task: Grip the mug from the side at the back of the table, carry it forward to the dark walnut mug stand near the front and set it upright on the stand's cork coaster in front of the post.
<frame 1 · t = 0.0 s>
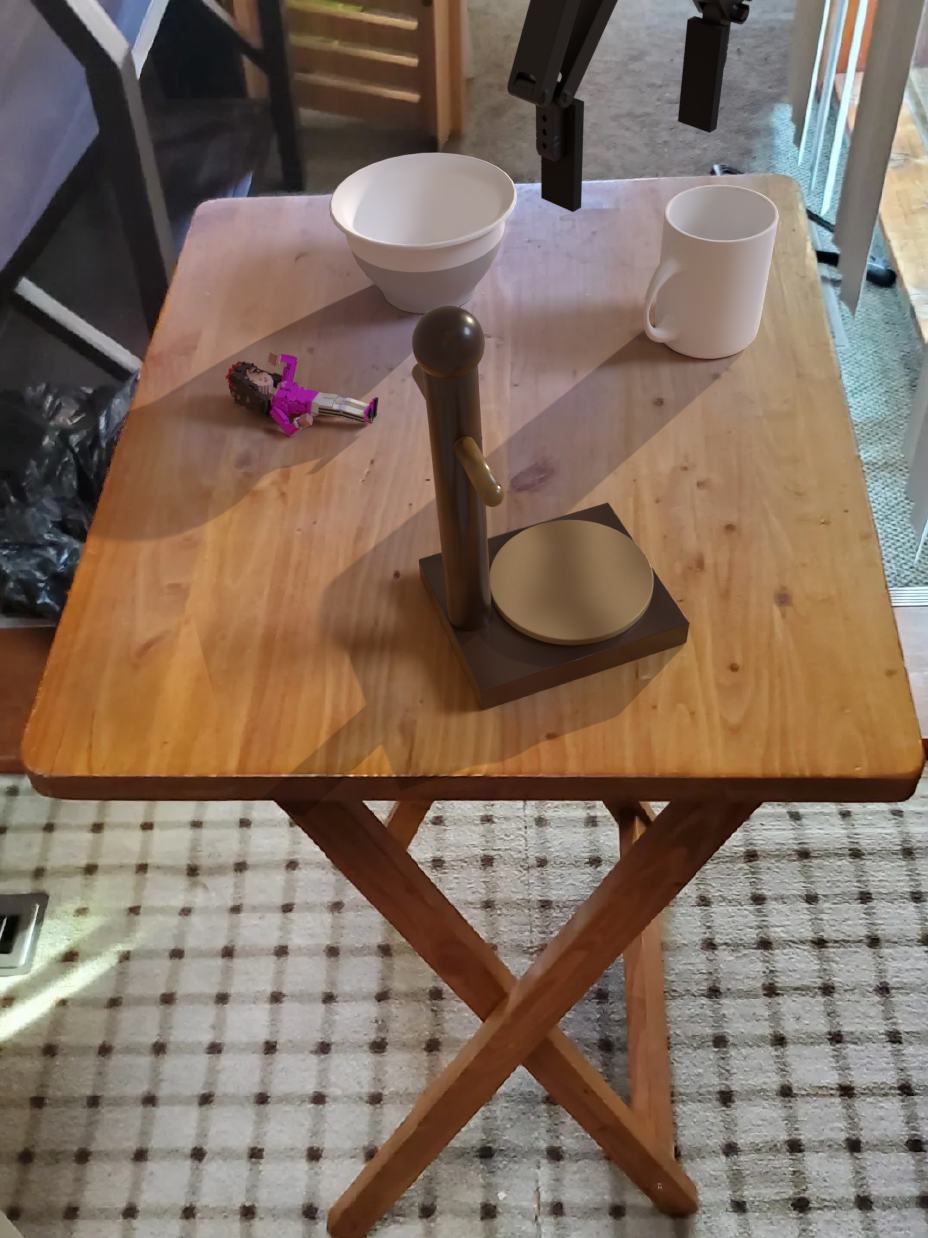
hand: (631, 163, 70), 19 cm above the table, tool pointing down, fingers open, 13 cm apart
mug: (690, 341, 90), on the table
mug stand: (549, 609, 71), on the table
character figurine: (304, 418, 86), on the table
bowl: (430, 288, 98), on the table
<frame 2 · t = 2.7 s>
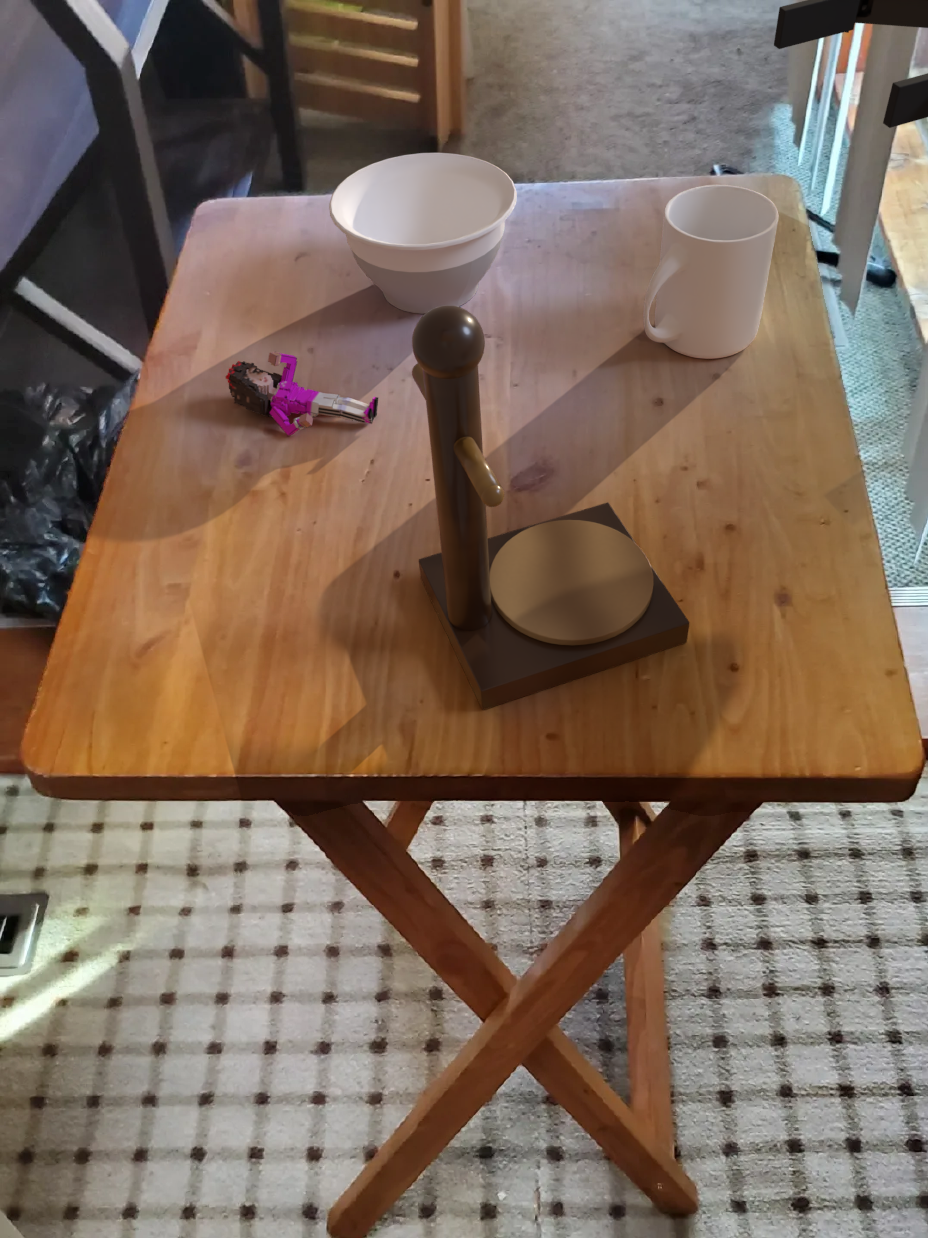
hand: (831, 65, 76), 21 cm above the table, tool horizontal, fingers open, 13 cm apart
nothing on the table moved.
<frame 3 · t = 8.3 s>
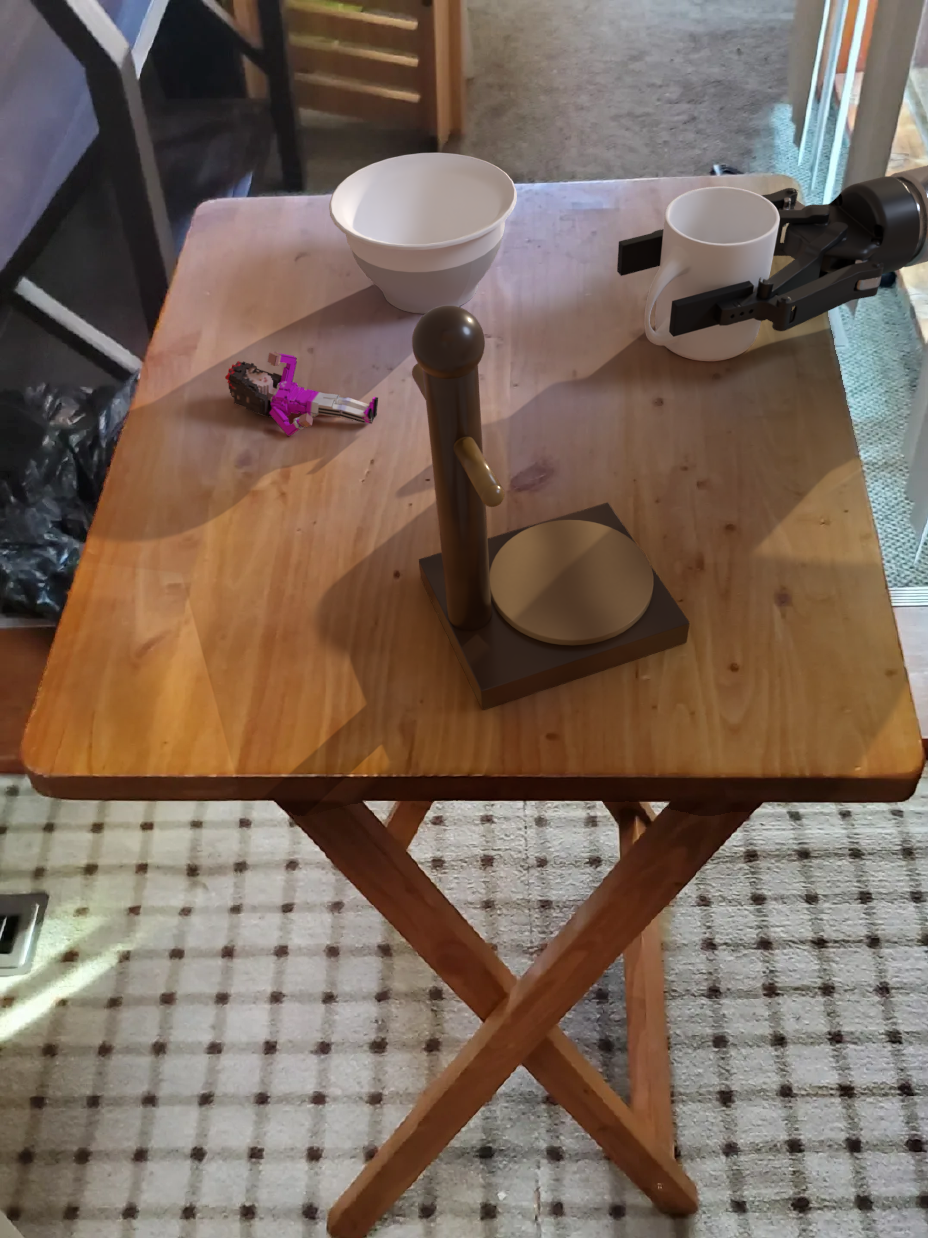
hand: (645, 288, 85), 6 cm above the table, tool horizontal, fingers closed on mug, 9 cm apart
mug: (691, 343, 90), on the table, touching gripper
everything else where it was.
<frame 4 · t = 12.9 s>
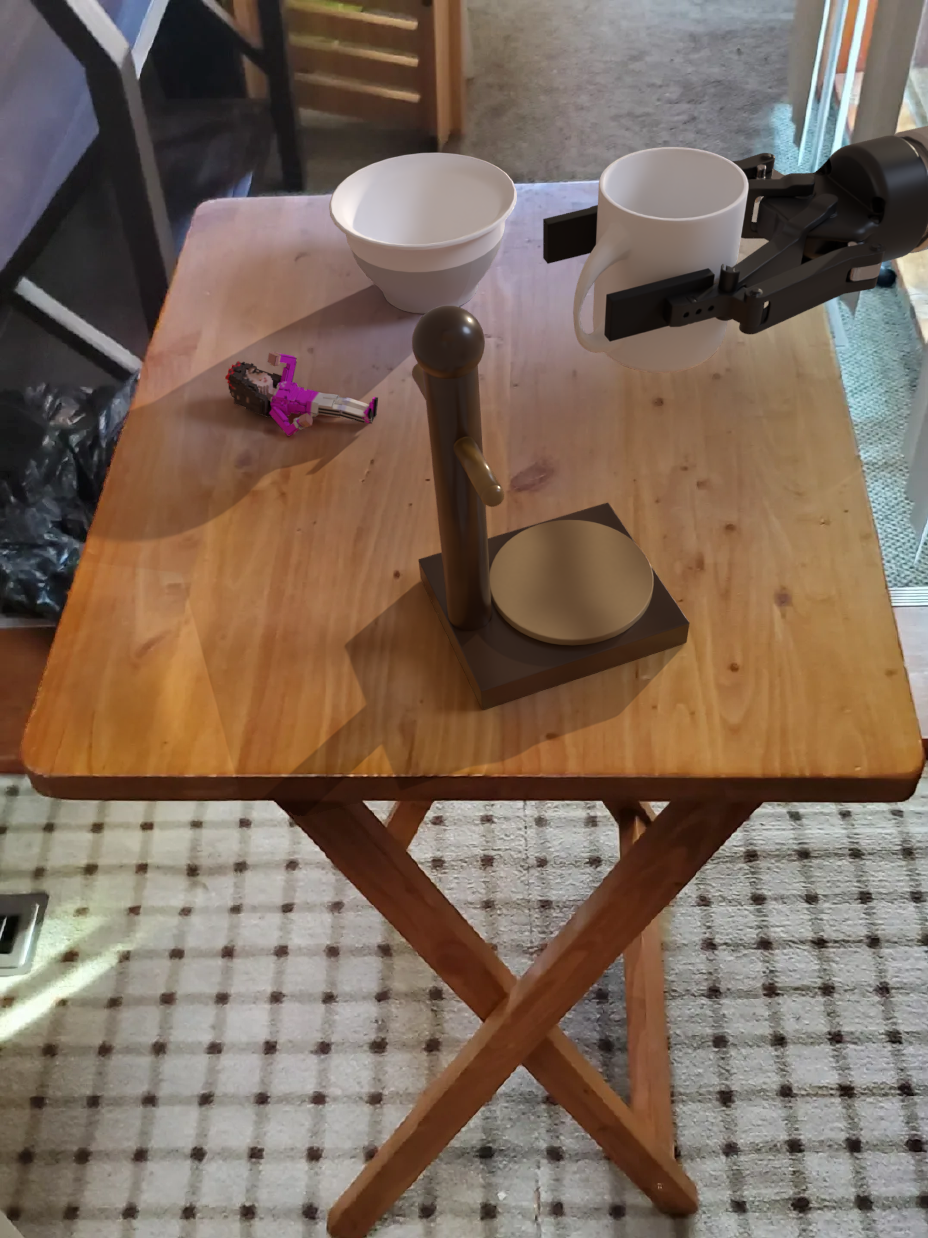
hand: (575, 278, 65), 18 cm above the table, tool horizontal, fingers closed on mug, 9 cm apart
mug: (639, 350, 70), point 11 cm above the table, touching gripper
everything else where it was.
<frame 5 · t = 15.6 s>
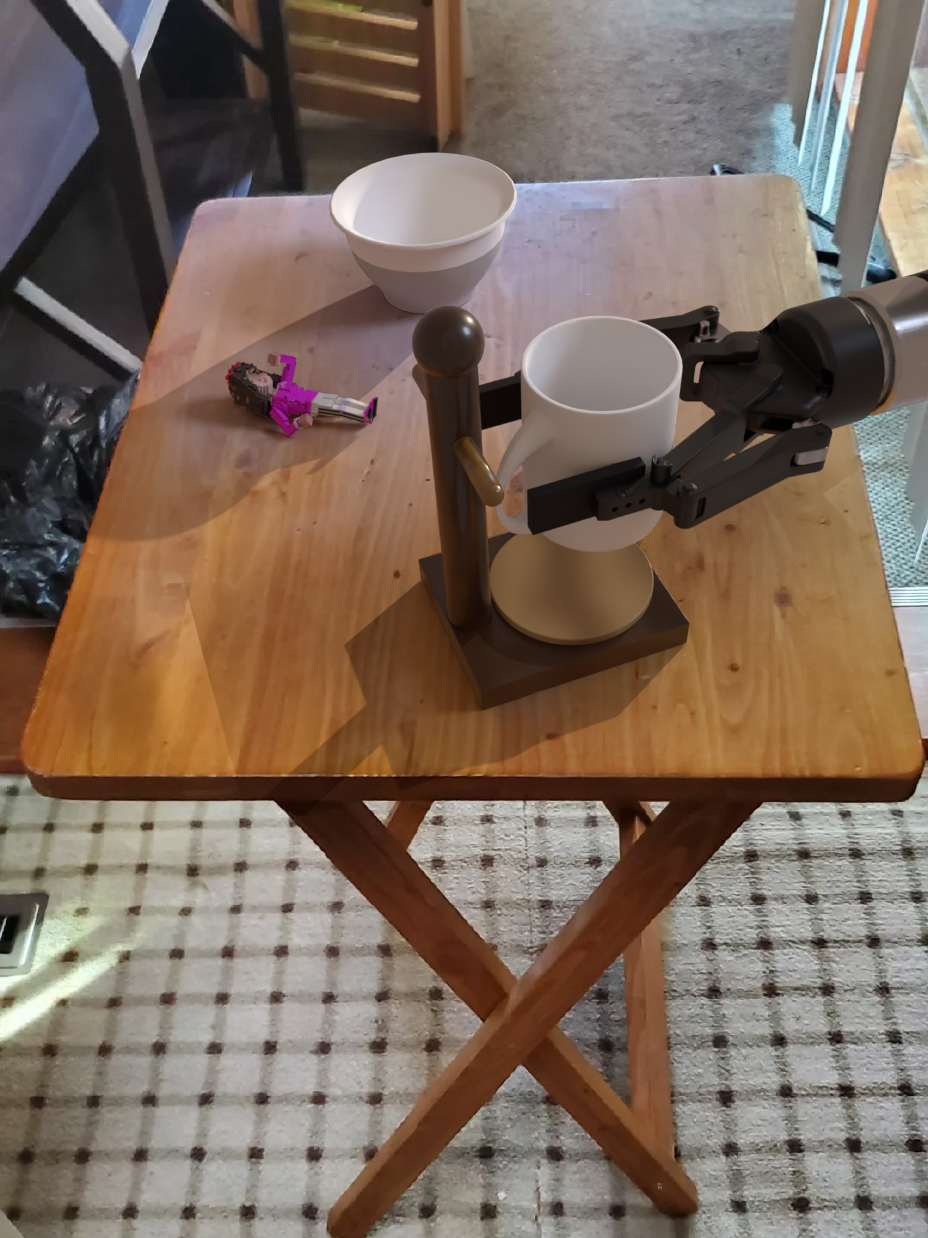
hand: (498, 459, 60), 14 cm above the table, tool horizontal, fingers closed on mug, 9 cm apart
mug: (572, 522, 65), point 8 cm above the table, touching gripper
everything else where it was.
when the fingers open (9 cm above the table, at t = 17.6 s): mug stays where it is, resting on mug stand.
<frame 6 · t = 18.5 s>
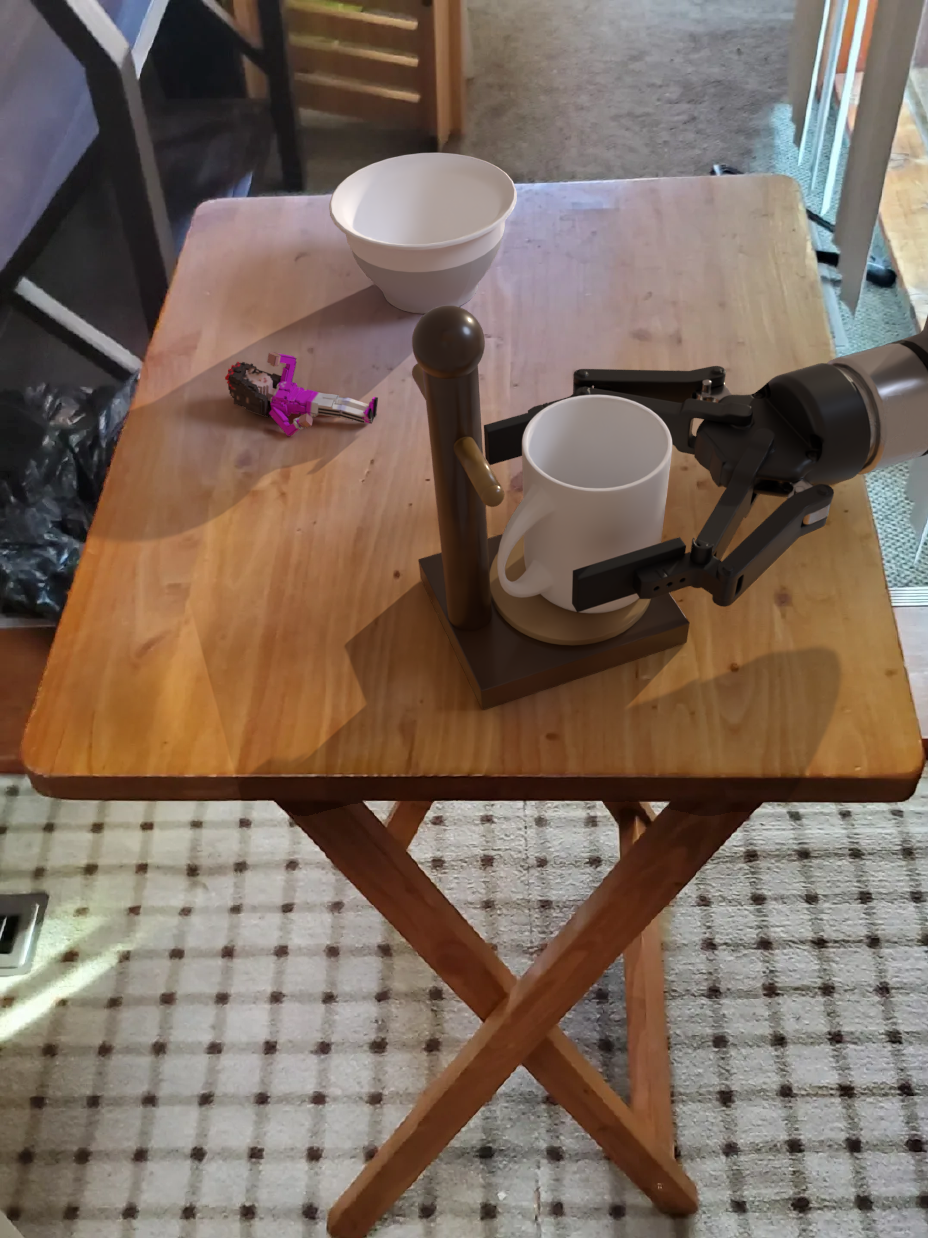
hand: (527, 514, 64), 9 cm above the table, tool horizontal, fingers open, 13 cm apart
mug: (571, 583, 69), point 2 cm above the table, touching mug stand
everything else where it was.
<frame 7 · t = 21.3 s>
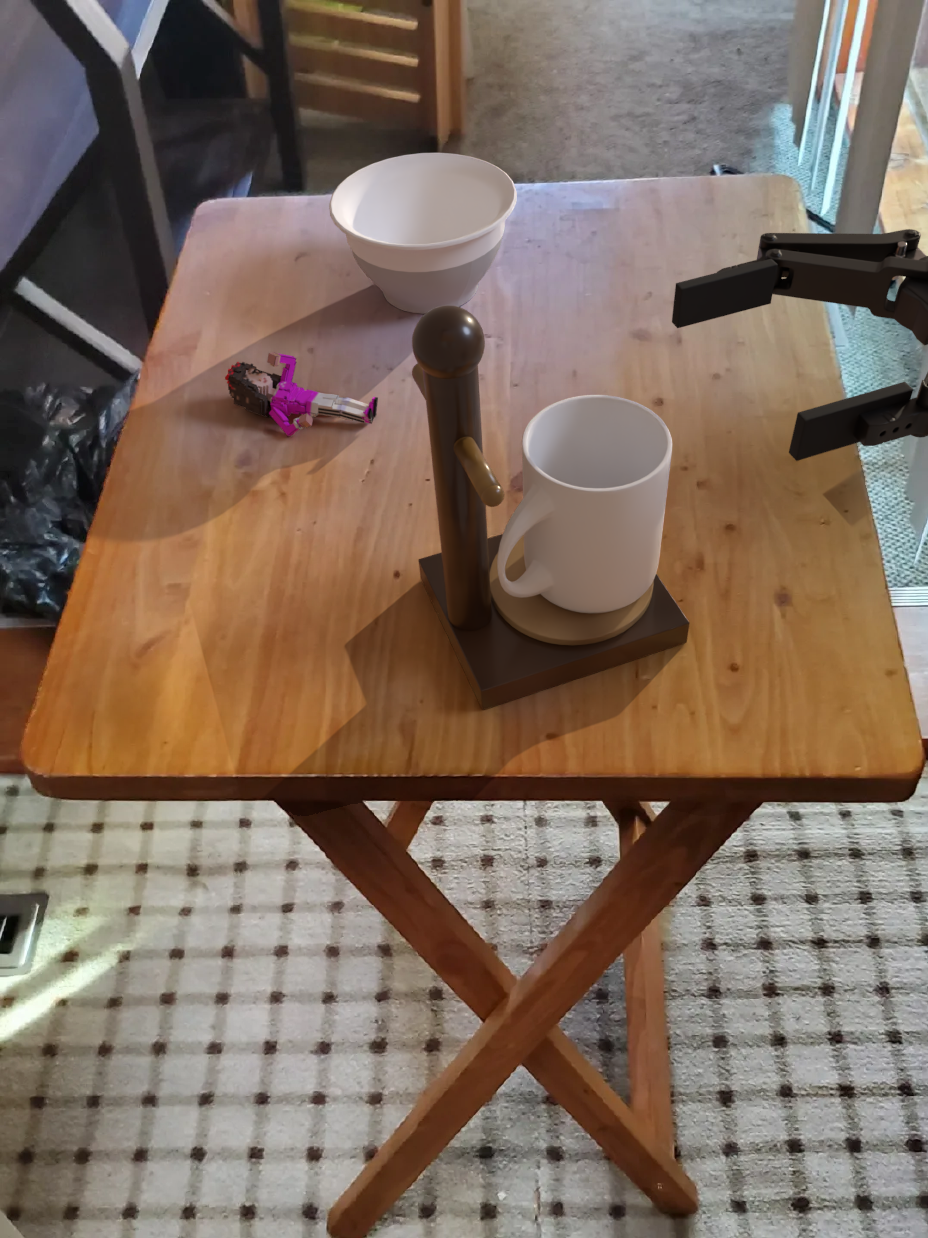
hand: (731, 367, 61), 16 cm above the table, tool horizontal, fingers open, 13 cm apart
nothing on the table moved.
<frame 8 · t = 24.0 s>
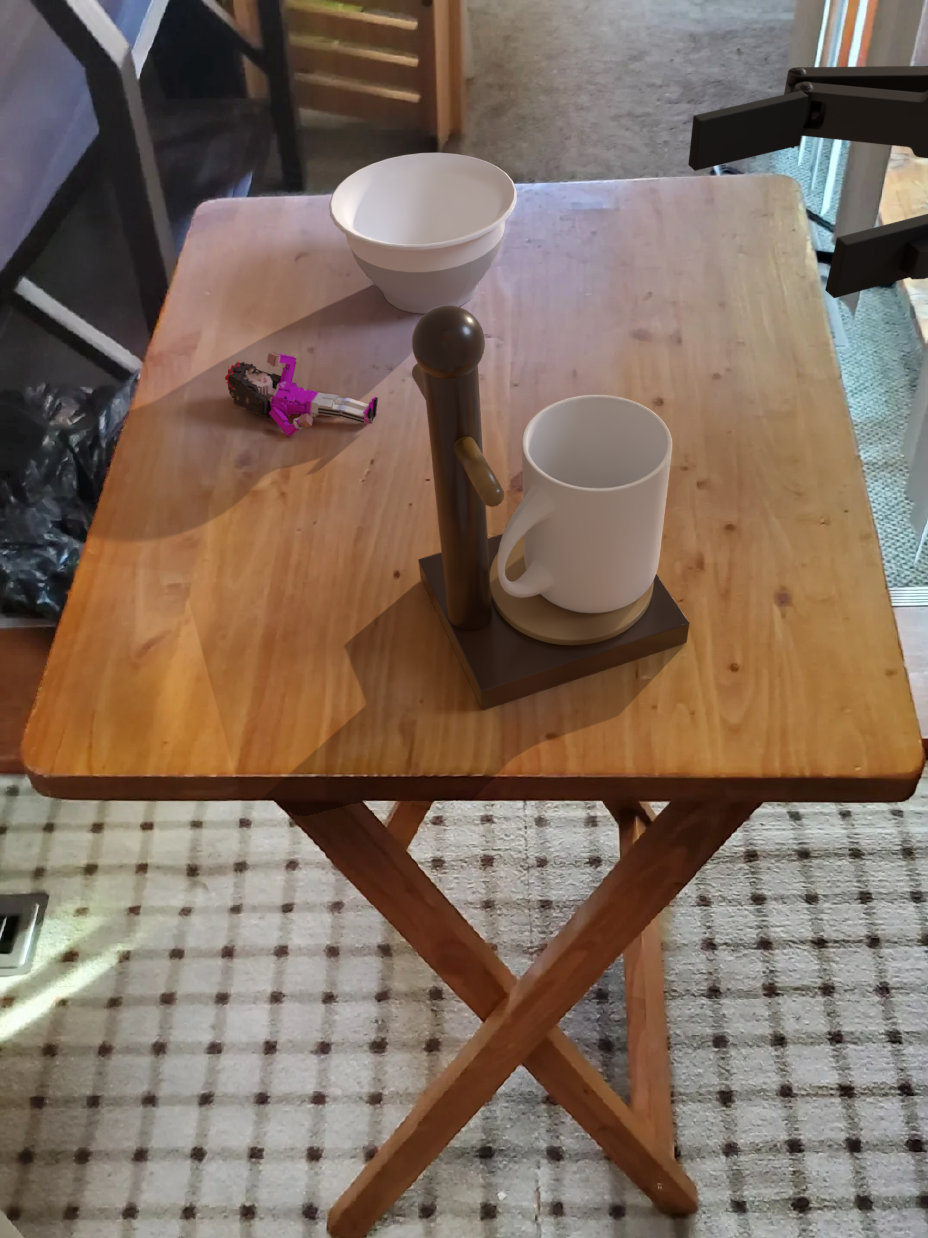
hand: (758, 201, 54), 26 cm above the table, tool horizontal, fingers open, 13 cm apart
nothing on the table moved.
at the end: mug 0.4 cm from the target spot on the mug stand, point 2.4 cm above the mug stand's base; mug tilted 0°; the gripper is holding nothing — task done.
